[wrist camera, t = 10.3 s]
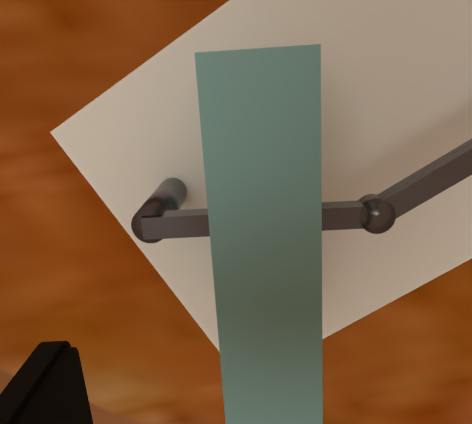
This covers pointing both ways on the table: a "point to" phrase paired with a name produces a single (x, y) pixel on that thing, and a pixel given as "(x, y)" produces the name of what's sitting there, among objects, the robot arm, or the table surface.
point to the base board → (332, 140)
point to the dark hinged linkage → (333, 213)
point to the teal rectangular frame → (265, 227)
